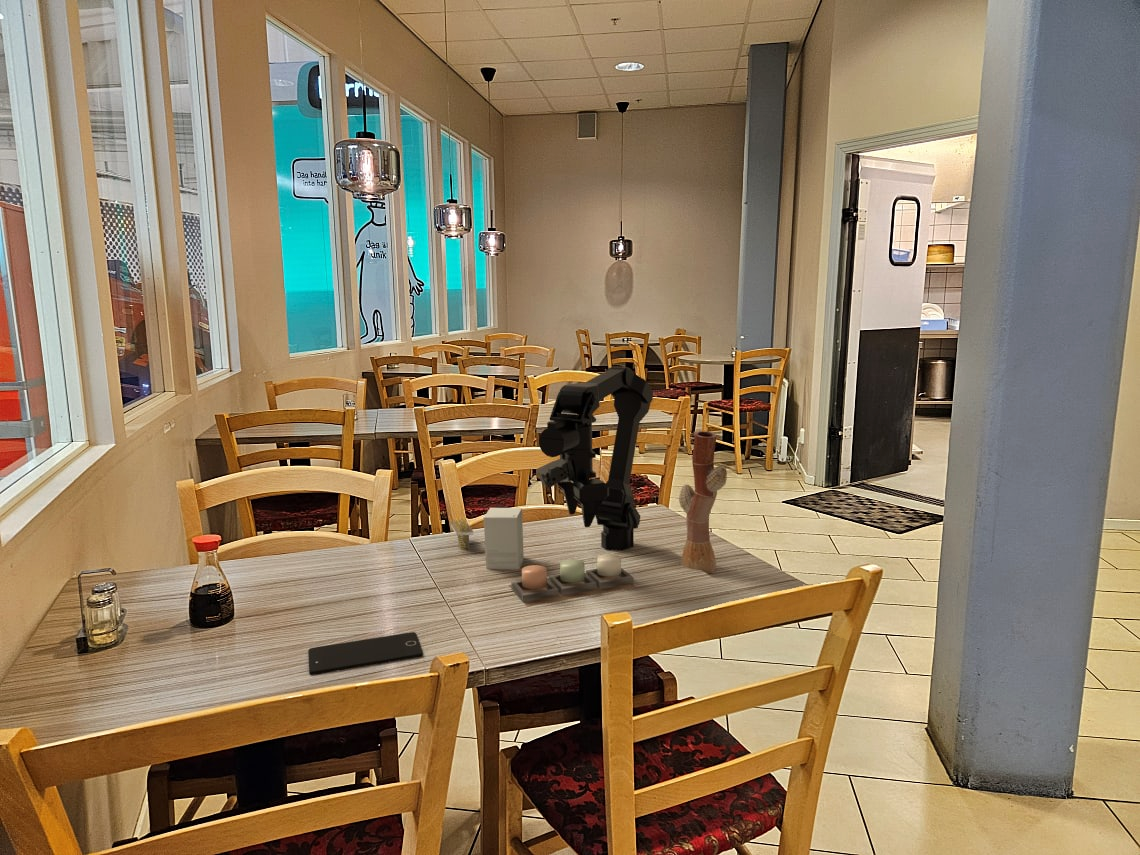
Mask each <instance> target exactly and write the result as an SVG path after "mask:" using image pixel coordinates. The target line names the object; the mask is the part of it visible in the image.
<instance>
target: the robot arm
mask: <svg viewBox="0 0 1140 855" xmlns="http://www.w3.org/2000/svg"><path fill="white" fill-rule="evenodd" d="M608 396H612V398H613V408H614V410H615V413H616V415H617V418H618V419H617V424H616V431H615V437H614V438H615V439H614V442H613V449H612V455H611V461H610V467H609V473H608V478H607V481H606V482H605V481H603V480H601V479H600V478H597V473H596V471H594V470H593V459H595V458H597V457H596V456H597V454H596V452H595V451H594V450H593V423H595V422H597V418H596V417H595V416H594V415H593V414H594V413H595V412H596V411H597V410H598V409H599V408H600V401H601V400H603V399H605V398H606V397H608ZM653 399H654V391H653V388H652V387H651V385H650V384H649V382H648V381H647V380H646V379H644V378H642V377H641V376H639V375H638V374H635V372H634V371H633V370H632V368H629V367H628V366H611V367H608V368H607V370H606V371H604V372H602V373H600V374H598V375H596V376H595V377H594V376H593V378H591V379H588V380H587V381H586V382H579V383H578V382H577V383H569V384H564V385H563V386H562V387H561V388H560V389H559V391H558V393H557V396H556V399H555V402H554V404H553V408H552V411H551V413H550V416H549V421H547V422H546V425H547V428H544V429H543V430H542V431H541V433H540V435H539V438H538V446H539V448H540V450H541V451H542V453H543V454H544V455H545V456H547V457H550V458H557V457H558V456H559V458H558V459H556V460H552V461H550V462H548V463H546V464H544V465H542V466H540V467H538V468H536V473H537V476H538V477H539V480H540V483H541V485H544V486H545V488H547V489H548V488H552V487H554V486H555V485H557V486H559V487H560V489H561V490H562V494H563V496H564V501H565V503H566V506H567V510H568V514H569V515H571V516H572V515H575V514H576V511H577V509H578V505H579V503H580V509H581V514H582V520H583V526H584V527H585V528H590V527H591V525H592V524H593V522H594V519H595V520H596V523H597V525H598V526H602V531H601V534H600V536H601V537H600V538H601V539H600V540H601V545H600V547H601V548H602V549H604V551H626V550H629V549H631V548H633V547H634V546H635V544H634V530H635V529H636V530H637V529H639V526H640V522H641V514H640V513H639V511H638V510H637V508H636V506H635V505H634V503H635V496H634V494H633V490H632V488H631V486H630V483H631V482H630V481H631V476H632V475H631V474H632V469H633V463H634V458H635V452H636V445H637V439H638V434H639V430H640V429H639V428H640V422H641V421H642V420H643V419H644V418H645V416H647V414H648V413H649V411H650V407H651V403H652V401H653Z"/></svg>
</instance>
